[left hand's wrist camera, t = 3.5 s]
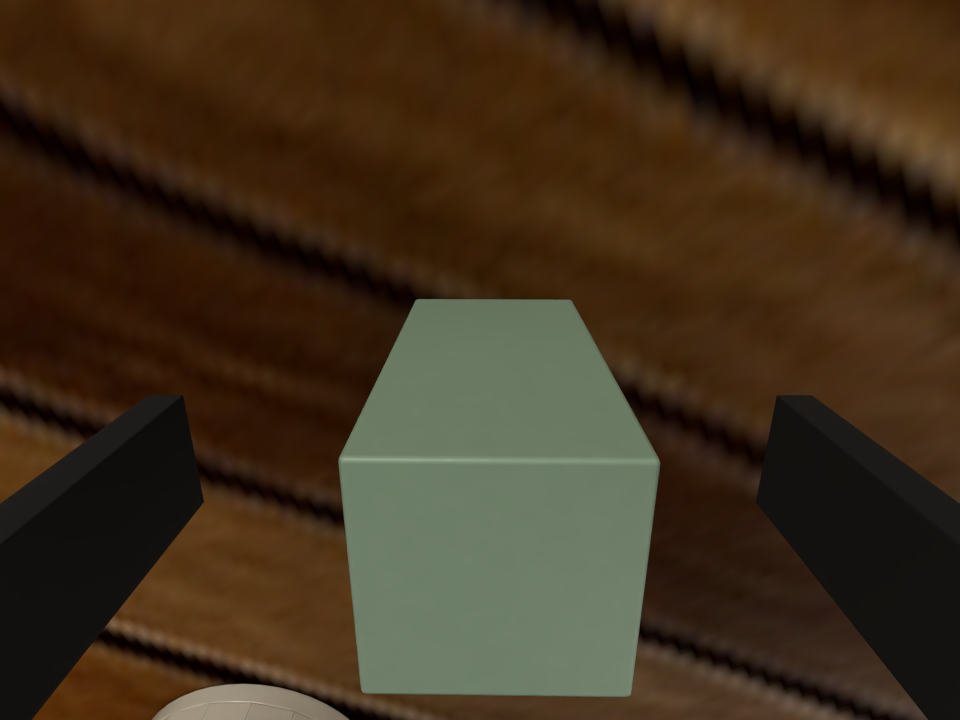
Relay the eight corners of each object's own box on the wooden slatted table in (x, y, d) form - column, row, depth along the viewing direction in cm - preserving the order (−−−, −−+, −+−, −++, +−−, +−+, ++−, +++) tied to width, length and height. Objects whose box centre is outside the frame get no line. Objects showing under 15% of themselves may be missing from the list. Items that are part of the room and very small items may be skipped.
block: (572, 298, 16) (663, 460, 8) (564, 438, 18) (632, 700, 9) (415, 298, 16) (335, 457, 8) (420, 437, 18) (359, 696, 9)
